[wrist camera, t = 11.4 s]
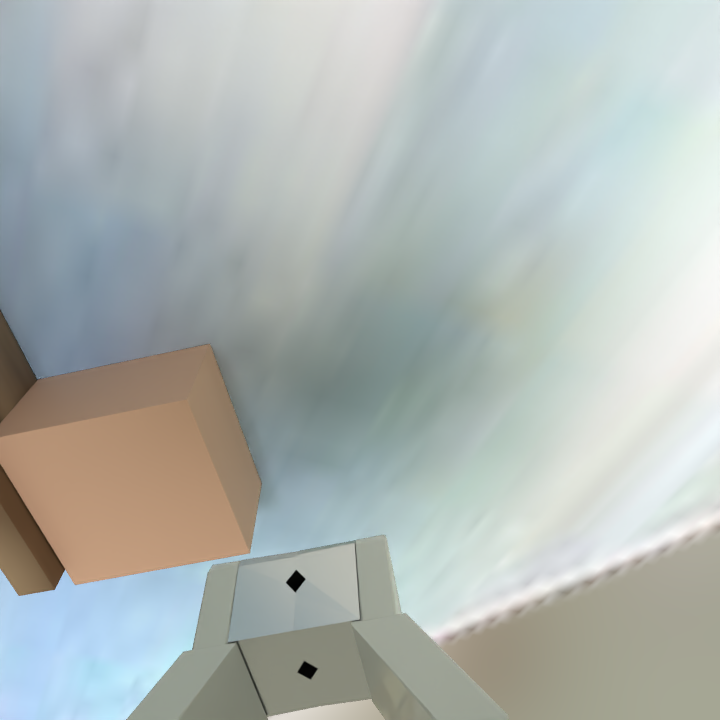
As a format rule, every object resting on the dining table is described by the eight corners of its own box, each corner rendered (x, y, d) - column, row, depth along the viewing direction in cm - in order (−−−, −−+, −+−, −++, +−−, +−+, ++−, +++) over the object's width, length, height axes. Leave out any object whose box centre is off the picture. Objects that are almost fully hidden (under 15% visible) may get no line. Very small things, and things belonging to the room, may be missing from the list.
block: (110, 510, 39) (74, 585, 34) (39, 377, 34) (-15, 439, 29) (262, 481, 38) (249, 552, 33) (210, 341, 34) (186, 399, 28)
